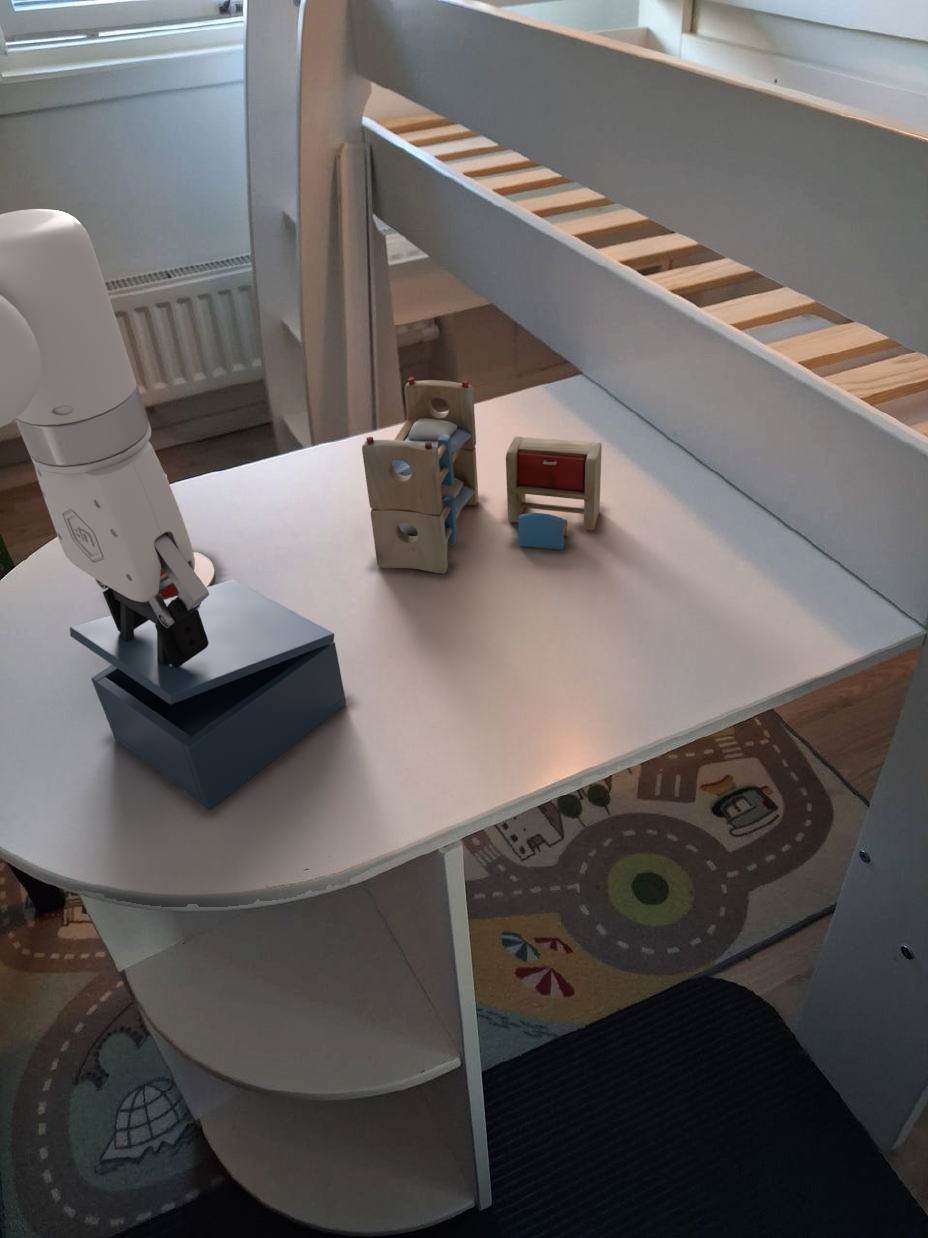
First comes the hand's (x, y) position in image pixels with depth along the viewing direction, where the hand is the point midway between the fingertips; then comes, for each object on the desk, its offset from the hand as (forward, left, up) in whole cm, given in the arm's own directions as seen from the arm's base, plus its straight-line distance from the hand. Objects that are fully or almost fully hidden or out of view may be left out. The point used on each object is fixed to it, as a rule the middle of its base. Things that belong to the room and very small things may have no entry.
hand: (163, 637), depth 74 cm
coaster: (+4, +24, -12) cm, 27 cm away
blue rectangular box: (+3, +1, -12) cm, 12 cm away
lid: (+3, +1, -2) cm, 4 cm away
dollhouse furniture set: (+35, +12, -12) cm, 39 cm away
